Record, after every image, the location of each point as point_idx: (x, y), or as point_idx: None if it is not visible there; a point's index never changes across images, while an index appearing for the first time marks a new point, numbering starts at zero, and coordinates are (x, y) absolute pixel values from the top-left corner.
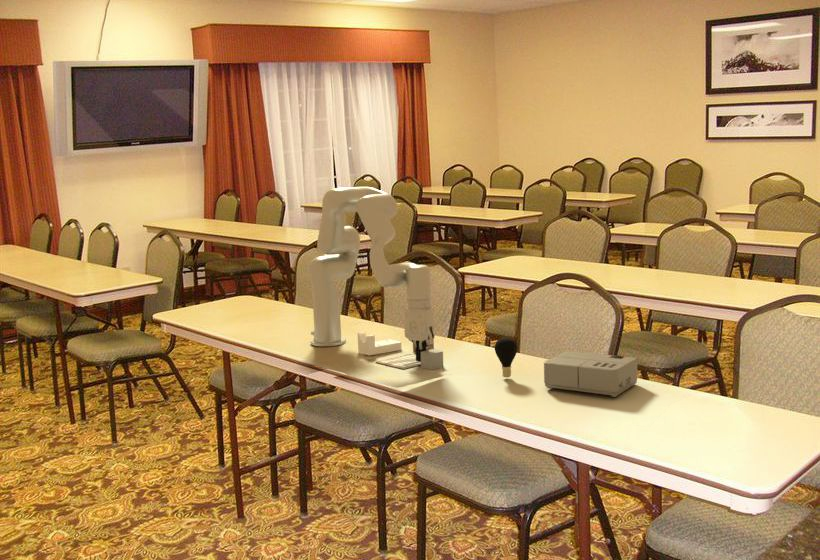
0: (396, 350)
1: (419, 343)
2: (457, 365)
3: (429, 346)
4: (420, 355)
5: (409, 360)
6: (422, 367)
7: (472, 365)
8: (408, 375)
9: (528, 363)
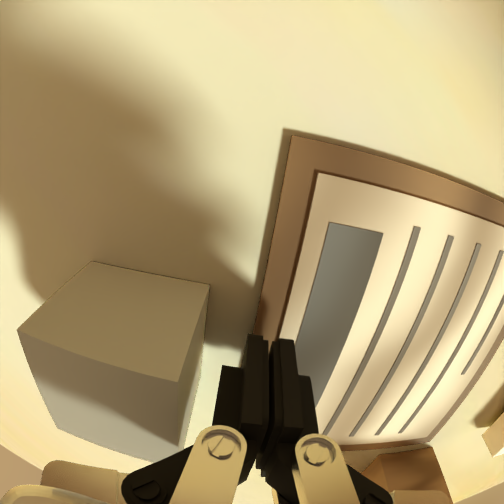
0: (497, 419)
1: (225, 493)
2: None
3: None
4: (242, 381)
5: (394, 363)
6: (192, 282)
7: None
8: (118, 24)
9: (10, 436)
